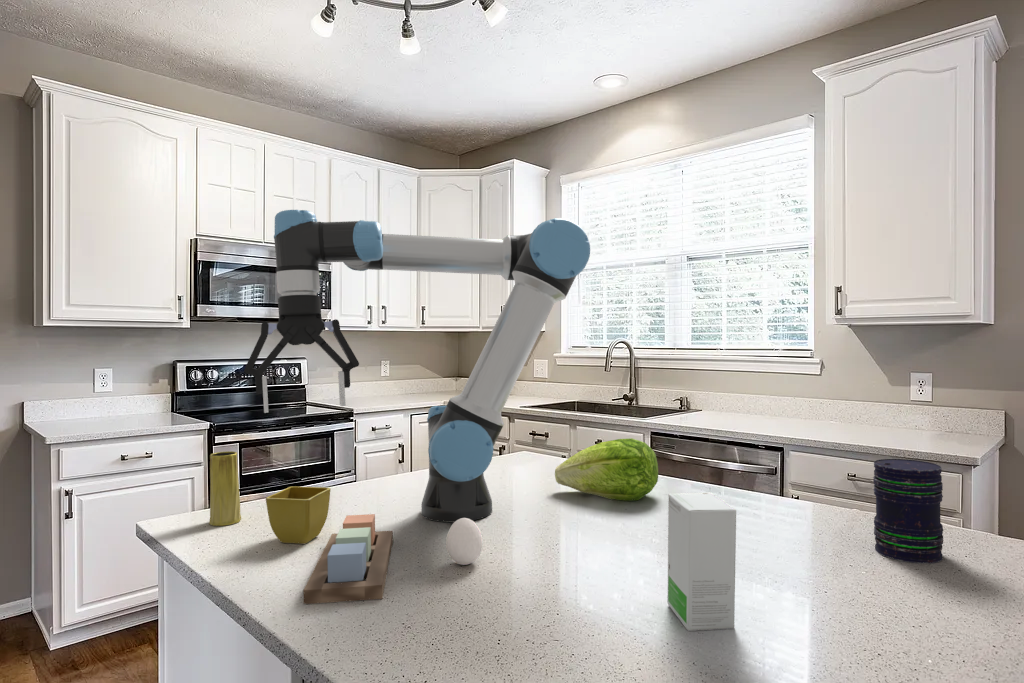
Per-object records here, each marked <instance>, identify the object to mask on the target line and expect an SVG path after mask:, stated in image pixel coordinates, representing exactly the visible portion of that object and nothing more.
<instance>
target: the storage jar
mask: <svg viewBox="0 0 1024 683" xmlns="http://www.w3.org/2000/svg"><path fill="white" fill-rule="evenodd" d="M873 468H874V470H873V489H872V490H873V494H874V495H875V515H874V518H873V519H874V520H873V524H874V526H873V535H874V541H875V546H874V549H875V551H876V553H877V554H879V555H881V556H883V557H886V558H888V559H893V560H895V561H899V562H903V563H911V564H912V563H913V564H926V565H927V564H936V563H939V562H942V560H943V559H944V558H943V556H944V555H943V553H942V551H943V544H944V534H943V533H944V528H943V527H944V526H943V524H942V523H941V503H942V501H943V497H944V495H943V487H944V486H943V484H944V483H943V482H942V477H943V476H942V475H941V474H942V471H943V469H942V466H941V465H939V464H936V463H933V462H928V461H924V460H915V459H903V458H882V459H877V460H874V461H873Z"/></svg>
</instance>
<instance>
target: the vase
mask: <svg viewBox="0 0 1024 683" xmlns="http://www.w3.org/2000/svg"><path fill="white" fill-rule="evenodd" d="M209 460H210V461H209V479H210V486H209V487H210V494H209V497H210V498H209V499H210V500H209V521H208V522H209V523H208V524H209V525H210V526H213V527H226V526H231V525H235V524H237V523H239V522H241V520H242V516H241V499H240V488H239V487H240V483H239V467H238V452H237V451H232V450H229V451H219V452H213V453H210V455H209Z"/></svg>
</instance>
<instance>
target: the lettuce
mask: <svg viewBox="0 0 1024 683" xmlns="http://www.w3.org/2000/svg"><path fill="white" fill-rule="evenodd" d="M554 478H555V483H557V484H558V485H561V486H565V487H568V488H571V489H573V490H576V491H578V492H581V493H583V494H586V495H587V494H588V495H594V496H598V497H600V498H601V497H602V498H605V499H609V500H618V501H624V502H625V501H630V502H631V501H639V500H640V499H643V497H645V496H646V495H648V494H649V493H651V492H652V491H653V489H654V488H655V486H656V485H657V484H658V481H659V465H658V459H657V455H656V452H655V451H654V450H653V449H652V447H650V446H649V445H648V444H647V443H646V442H645V441H642V440H639V439H635V438H618V439H612V440H607V441H602V442H601V441H600V442H598V443H596V444H593V445H590V446H588V447H586V448H584V449H582V450H579V451H578V452H577V453H575V454H573V455H572V456H570V457H568V458H567V459H565V461H562V462H561V463H559V465H557V466H556V467H555V470H554Z"/></svg>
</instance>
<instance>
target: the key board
mask: <svg viewBox="0 0 1024 683" xmlns="http://www.w3.org/2000/svg"><path fill="white" fill-rule="evenodd" d="M337 534H338V533H332V534H331V535H330V537H329V539H328V540H327V542H326V545H325V547H324V548H323V551H322V553H321V554H320V557H319V558H318V561H317V563H316V564H315V567H313V568H314V569H313V571H312V572H311V575H310V576H309V578H308V580H307V582H306V584H305V586H304V588H303V590H302V594H303V605H310V604H311V605H312V604H327V603H329V604H330V603H339V602H355V601H356V602H357V601H372V600H383V599H384V592H385V588H386V582H387V577H388V571H389V566H390V560H391V554H392V550H393V546H394V530H379V531H378V530H377V531H376V530H375V539H374V543H373V545H371V553H370V557H369V560H368V561H367V562H366V571H365V575H364V578H363V580H362V581H347V582H331V583H328V557H327V555H328V553H329V551H330V549H331V547H332V545H333V544H336V537H337Z"/></svg>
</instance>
